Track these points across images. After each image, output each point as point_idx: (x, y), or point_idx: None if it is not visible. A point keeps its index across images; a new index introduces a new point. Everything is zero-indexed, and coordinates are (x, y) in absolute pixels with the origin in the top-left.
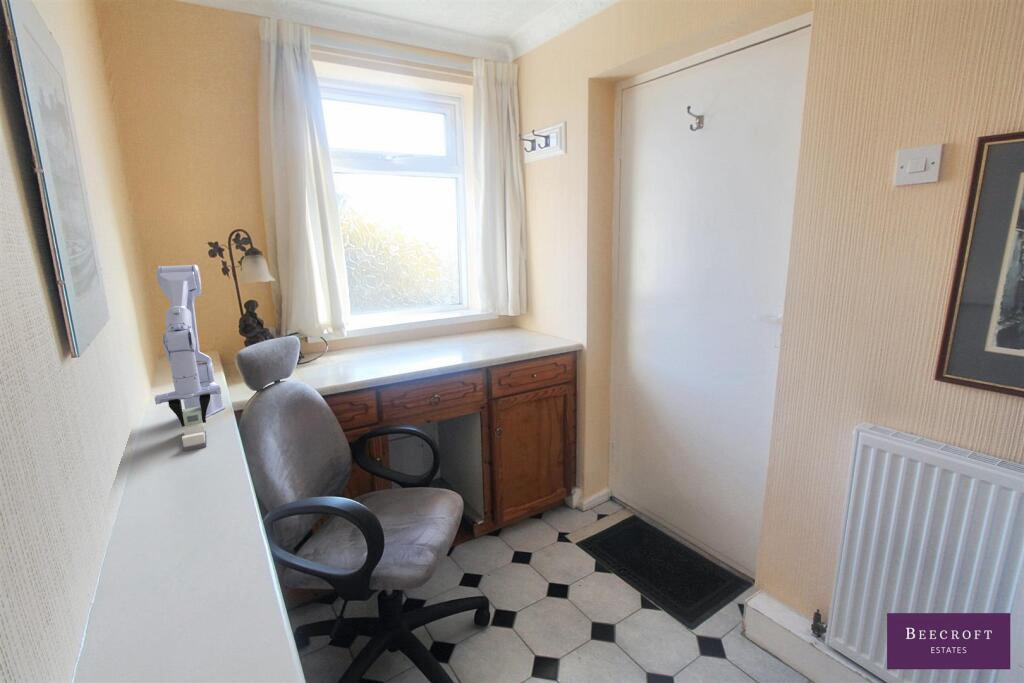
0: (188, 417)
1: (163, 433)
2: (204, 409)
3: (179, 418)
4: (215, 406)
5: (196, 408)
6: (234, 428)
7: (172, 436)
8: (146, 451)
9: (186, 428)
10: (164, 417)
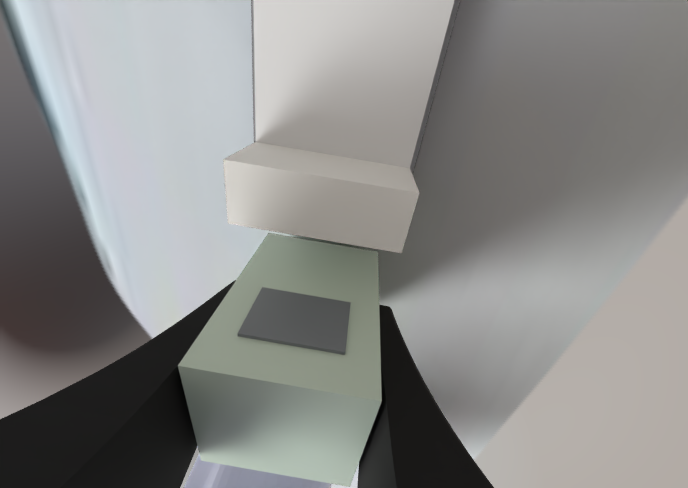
0: (332, 339)
1: (457, 364)
2: (132, 370)
3: (412, 368)
4: None
5: (233, 442)
6: (94, 171)
7: (438, 301)
8: (677, 152)
9: (387, 183)
10: None
